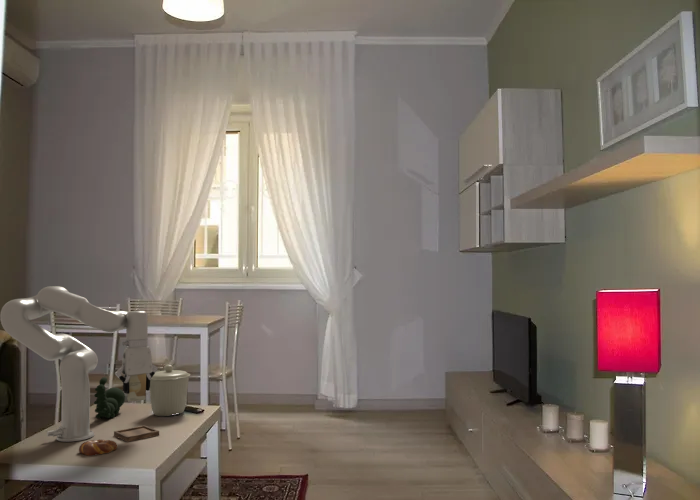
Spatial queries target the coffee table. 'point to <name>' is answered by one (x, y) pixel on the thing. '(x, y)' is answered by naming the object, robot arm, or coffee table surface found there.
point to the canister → (168, 391)
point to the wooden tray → (136, 433)
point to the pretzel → (97, 447)
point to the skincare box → (137, 388)
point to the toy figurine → (108, 400)
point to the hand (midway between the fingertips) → (136, 391)
